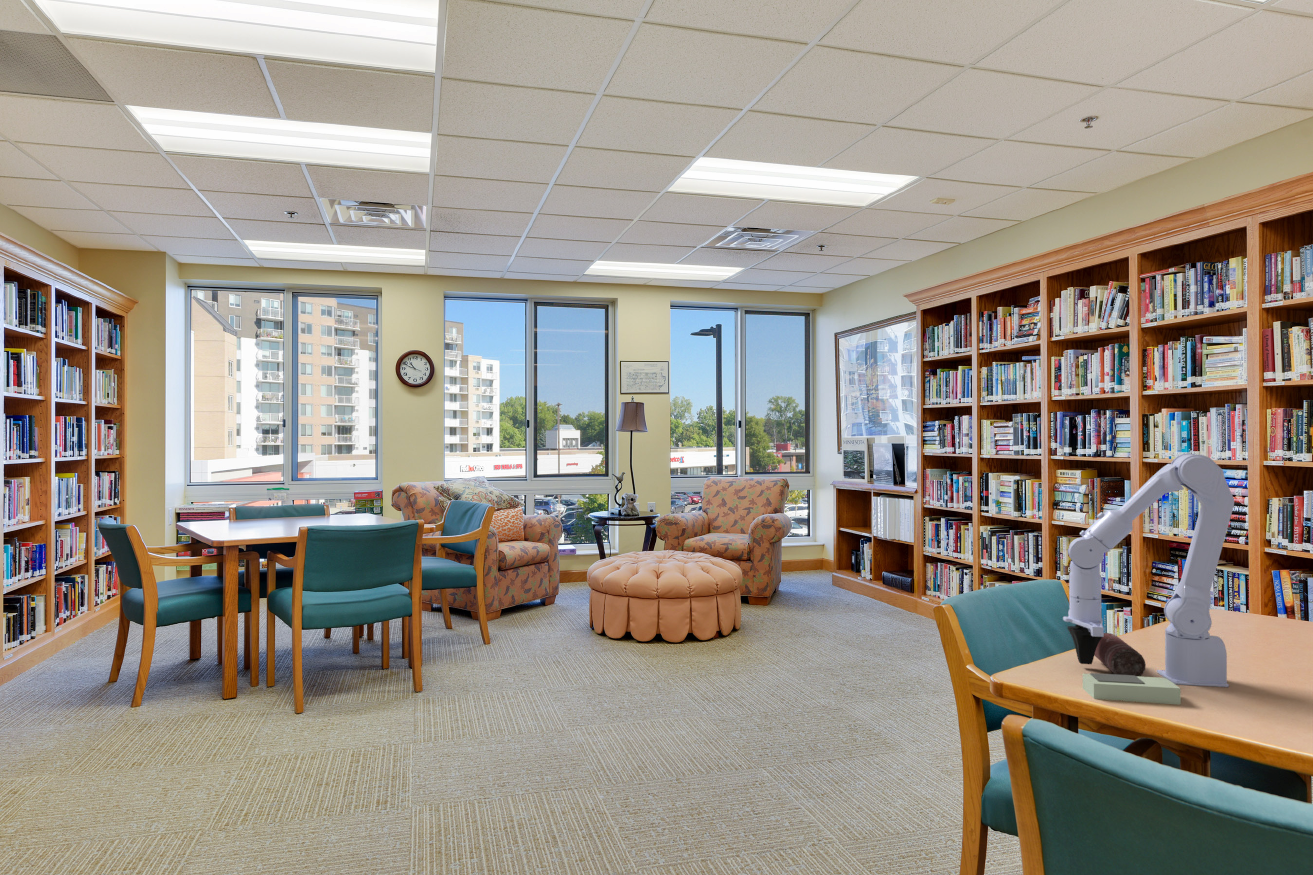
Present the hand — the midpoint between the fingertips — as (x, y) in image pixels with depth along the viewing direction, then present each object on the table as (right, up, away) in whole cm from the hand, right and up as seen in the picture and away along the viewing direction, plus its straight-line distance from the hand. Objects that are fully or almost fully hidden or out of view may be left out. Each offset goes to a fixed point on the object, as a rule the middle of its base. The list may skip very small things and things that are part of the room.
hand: (1085, 663), depth 159 cm
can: (+4, +2, -9) cm, 10 cm away
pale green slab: (-2, -1, -18) cm, 18 cm away
